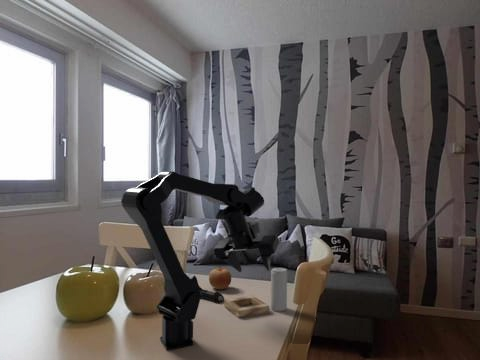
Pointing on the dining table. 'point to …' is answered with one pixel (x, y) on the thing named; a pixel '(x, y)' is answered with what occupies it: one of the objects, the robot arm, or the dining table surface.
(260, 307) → the socket block
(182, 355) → the dining table surface
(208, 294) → the electric trimmer
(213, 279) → the apple
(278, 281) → the beverage can
